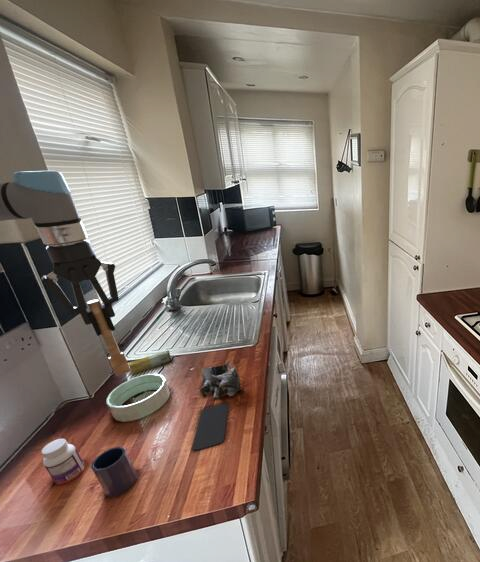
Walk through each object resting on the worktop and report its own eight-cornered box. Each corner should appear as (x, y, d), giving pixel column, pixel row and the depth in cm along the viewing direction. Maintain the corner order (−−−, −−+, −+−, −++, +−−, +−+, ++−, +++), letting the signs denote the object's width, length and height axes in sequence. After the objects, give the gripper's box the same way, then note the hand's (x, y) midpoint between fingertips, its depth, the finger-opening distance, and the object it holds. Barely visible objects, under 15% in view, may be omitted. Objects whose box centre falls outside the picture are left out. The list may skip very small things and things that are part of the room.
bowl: (101, 425, 86) (93, 409, 84) (134, 390, 99) (127, 375, 97) (153, 421, 87) (147, 405, 85) (179, 386, 100) (174, 372, 98)
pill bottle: (63, 469, 74) (45, 440, 71) (90, 461, 76) (74, 432, 72) (50, 490, 70) (30, 460, 66) (79, 481, 71) (62, 451, 68)
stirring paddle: (117, 378, 82) (85, 304, 74) (115, 374, 83) (83, 302, 75) (131, 372, 84) (101, 300, 76) (129, 368, 86) (100, 298, 77)
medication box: (171, 359, 115) (168, 349, 113) (172, 361, 113) (169, 352, 111) (132, 372, 108) (128, 362, 107) (132, 375, 106) (128, 365, 104)
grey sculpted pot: (240, 359, 107) (235, 360, 94) (243, 391, 106) (240, 396, 92) (202, 366, 103) (192, 368, 90) (206, 399, 102) (196, 407, 88)
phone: (228, 402, 92) (224, 442, 79) (229, 404, 92) (224, 444, 79) (201, 409, 90) (191, 451, 77) (202, 411, 90) (192, 453, 77)
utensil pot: (99, 500, 67) (83, 472, 64) (118, 474, 73) (104, 447, 69) (127, 498, 67) (112, 469, 64) (144, 472, 73) (131, 445, 69)
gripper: (19, 253, 62) (67, 350, 71) (112, 237, 73) (144, 323, 82) (18, 247, 67) (63, 338, 76) (106, 233, 77) (136, 315, 86)
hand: (105, 330), depth 79 cm, fingers closed on stirring paddle, 2 cm apart
